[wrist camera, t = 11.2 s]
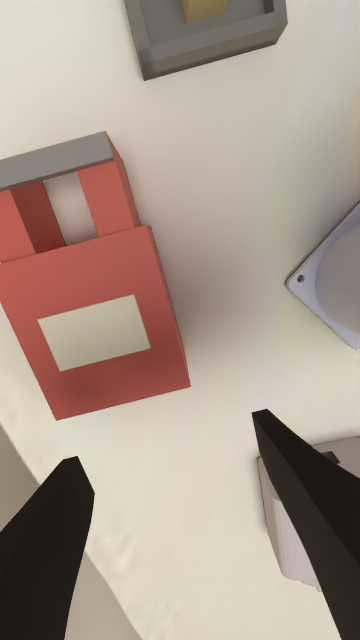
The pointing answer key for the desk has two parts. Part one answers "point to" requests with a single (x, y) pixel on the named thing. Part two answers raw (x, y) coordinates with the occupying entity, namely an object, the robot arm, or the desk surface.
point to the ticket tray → (200, 33)
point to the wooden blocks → (202, 9)
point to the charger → (285, 541)
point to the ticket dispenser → (86, 285)
